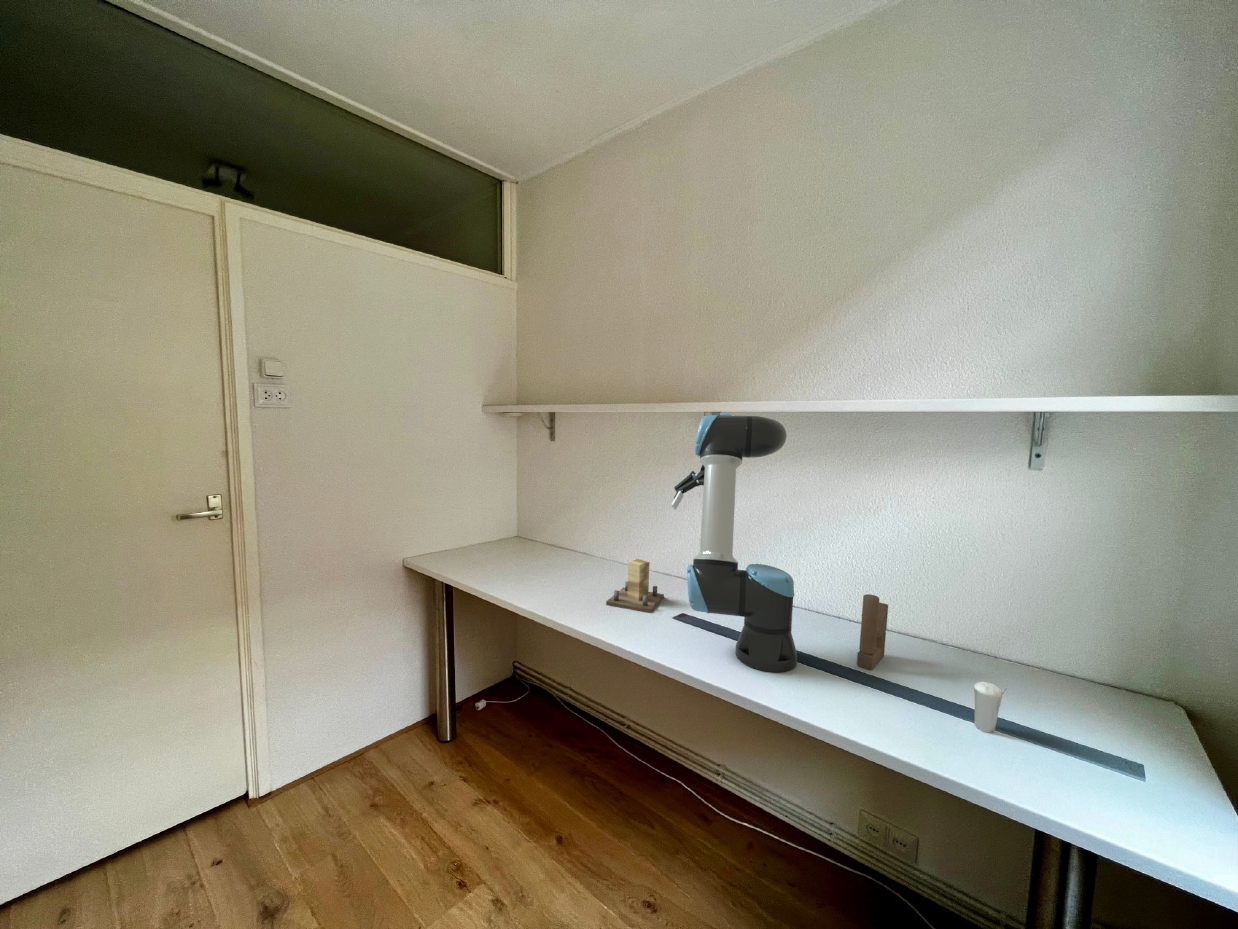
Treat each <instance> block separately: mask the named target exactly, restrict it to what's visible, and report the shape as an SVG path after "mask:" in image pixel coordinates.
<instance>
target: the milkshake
mask: <svg viewBox="0 0 1238 929" xmlns="http://www.w3.org/2000/svg"><path fill="white" fill-rule="evenodd" d="M973 687H974V688H973V689H974V726H975V727H976V729H978V730H980V731H982V732H984V733H989V734H993V733H995V730H996V726H997V721H998V717H999V711H1000V706H1001V702H1002V698H1003V694H1004V693H1005V692H1006V690H1008V689H1007V688H1008V687H1006V688H1005V689H1004V690H1003V691H1002V690H1001V689H1000V688H999V687H998V686H997V685H995V684H993V683H990V682H987V681H979V682H976V683H975V684H974V686H973Z"/></svg>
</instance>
